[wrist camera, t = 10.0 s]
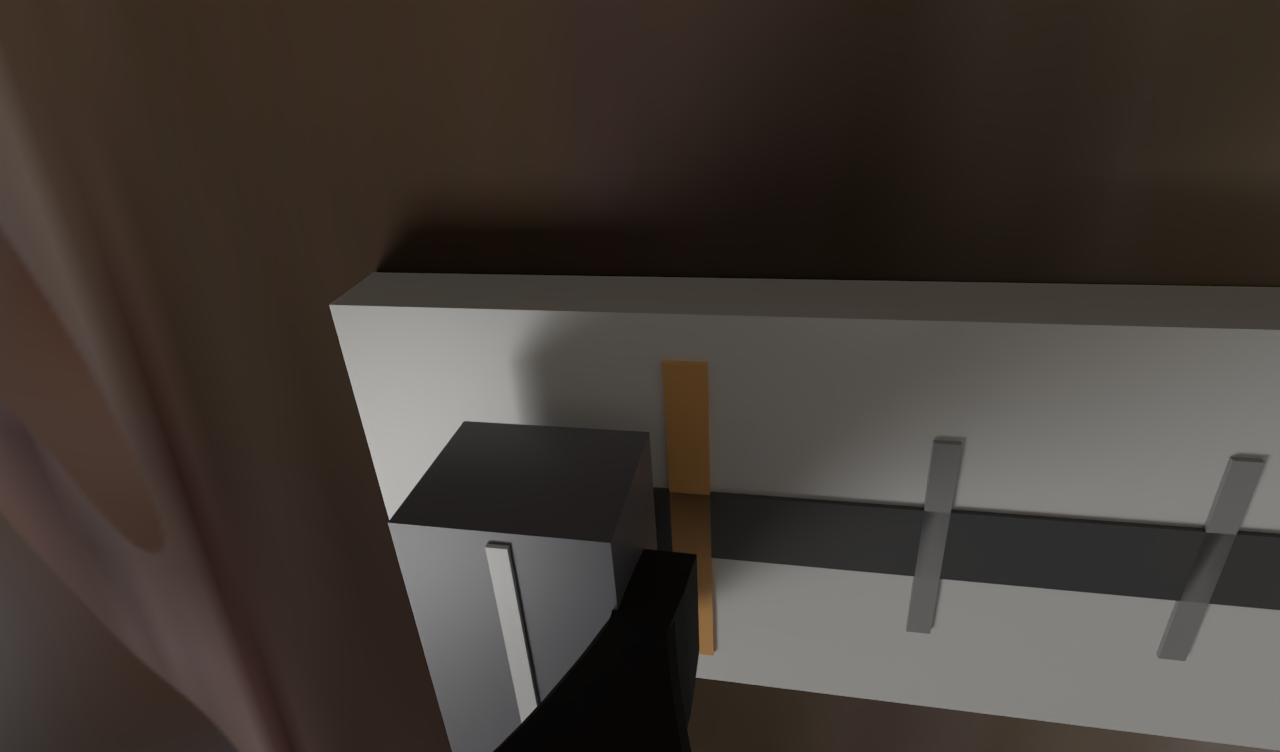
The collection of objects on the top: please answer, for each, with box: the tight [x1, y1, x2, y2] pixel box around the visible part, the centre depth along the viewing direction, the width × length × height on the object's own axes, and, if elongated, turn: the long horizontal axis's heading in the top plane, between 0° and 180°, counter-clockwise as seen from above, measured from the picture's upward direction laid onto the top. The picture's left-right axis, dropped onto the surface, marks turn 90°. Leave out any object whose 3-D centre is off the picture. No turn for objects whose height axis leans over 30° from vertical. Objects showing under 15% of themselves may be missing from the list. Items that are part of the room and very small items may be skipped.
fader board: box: [329, 272, 1280, 751], centre depth 13 cm, size 20×8×2 cm, turn 94°
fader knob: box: [388, 421, 657, 752], centre depth 12 cm, size 3×5×4 cm, turn 4°
